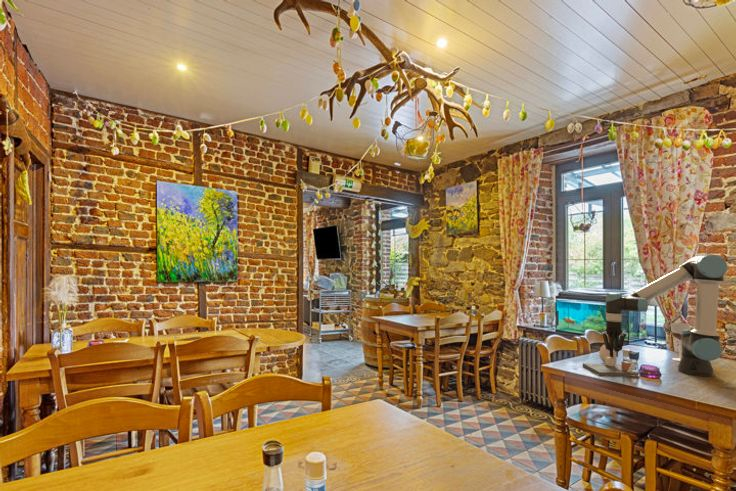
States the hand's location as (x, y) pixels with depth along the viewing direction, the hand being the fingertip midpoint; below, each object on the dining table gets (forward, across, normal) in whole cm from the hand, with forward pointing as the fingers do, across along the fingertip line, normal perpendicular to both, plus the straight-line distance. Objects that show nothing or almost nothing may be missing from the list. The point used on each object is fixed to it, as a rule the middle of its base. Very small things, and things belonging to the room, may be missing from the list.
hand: (613, 362), depth 221 cm
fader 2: (+1, -2, +9) cm, 9 cm away
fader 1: (+1, +2, 0) cm, 3 cm away
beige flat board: (+4, +5, +5) cm, 8 cm away
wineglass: (+4, -54, -26) cm, 60 cm away
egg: (+4, -3, -12) cm, 13 cm away
